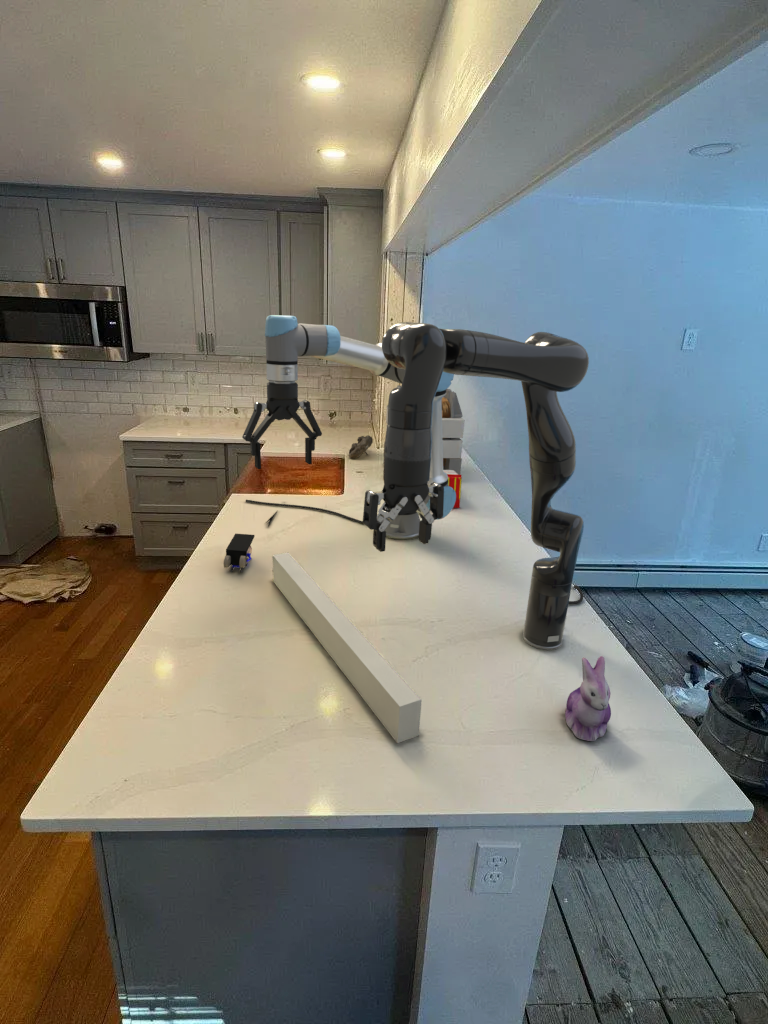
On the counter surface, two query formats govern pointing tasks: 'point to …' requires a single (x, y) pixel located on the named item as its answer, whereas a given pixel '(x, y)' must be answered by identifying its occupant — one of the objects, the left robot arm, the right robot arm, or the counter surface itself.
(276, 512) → the feather
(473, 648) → the counter surface
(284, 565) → the post
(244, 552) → the black wheeled rover
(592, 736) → the figurine
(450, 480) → the red striped box
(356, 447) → the fossil
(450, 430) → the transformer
